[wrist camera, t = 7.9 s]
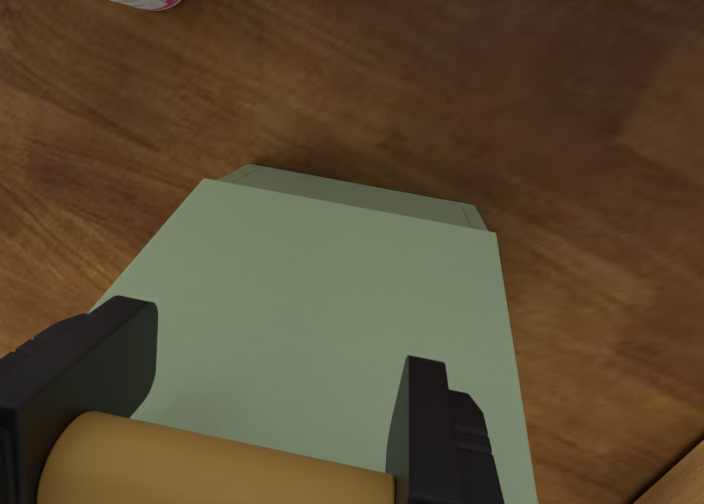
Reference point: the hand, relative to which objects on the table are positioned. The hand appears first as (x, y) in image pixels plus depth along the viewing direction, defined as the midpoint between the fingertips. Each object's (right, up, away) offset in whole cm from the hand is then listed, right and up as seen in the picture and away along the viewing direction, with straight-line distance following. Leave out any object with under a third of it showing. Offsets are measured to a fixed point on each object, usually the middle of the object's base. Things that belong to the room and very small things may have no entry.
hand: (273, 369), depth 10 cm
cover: (0, -1, +5) cm, 5 cm away
